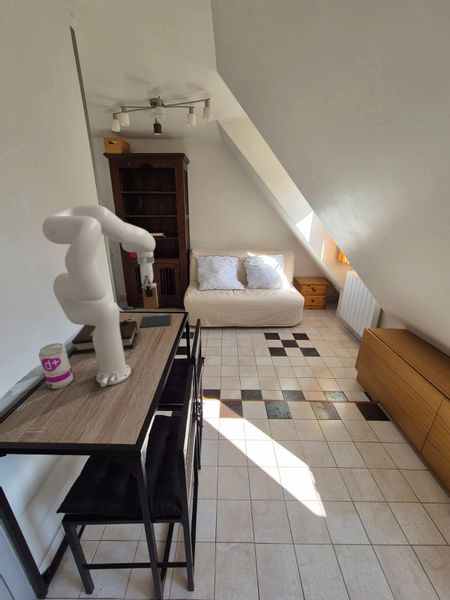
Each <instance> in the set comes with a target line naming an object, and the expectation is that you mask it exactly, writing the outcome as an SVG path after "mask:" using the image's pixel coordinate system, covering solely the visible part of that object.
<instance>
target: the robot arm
mask: <svg viewBox="0 0 450 600" xmlns="http://www.w3.org/2000/svg"><path fill="white" fill-rule="evenodd" d="M42 233H43V236H44V237H45V239H47V240H48V241H49V242H51V243H53V244H56V245H69V247H68V250H67V251H66V253H65V256H64V266H65V269H66V270H67V272H62V273H60V274H58V275H57V276H56V277H55V278H54V281H53V284H52V285H53V286H52V288H53V289H52V290H53V294H54V297H55V298H56V300H57V303H58V304H59V307H61V309H62V311H63V313H64V315H65V316H66V318H67V320H69V322H70V323H72V324H74V325H80V326H84V325H91V326H96V330H95V332H94V334H93V344H94V348H95V352H94V353H95V357H96V361H97V367H98V373H97V374H96V376H95V378H96V382H97V383H98V384H100V387H102V388H105V387H106V386H113V385H116V384H119V383H121V382H123V381H125V380H127V379H128V378H129V377H130V375H131V374H132V369H131V368H132V367H131V366H130V365H128V364H126V359H125V351H124V349H123V345H122V340H121V334H120V327H119V322H120V314H121V313H120V312H121V311H120V307H119V305H118V303H116V302H115V301H113V300H110V299H105V297H106V293H107V288H106V284H105V281H104V279H103V277H102V274H101V271H100V269H99V267H98V263H97V261H96V251H97V248H98V245H99V242H100V239H101V237H102V235H103V236H104V237H106V238H108V239H109V240H111V241H113V242H115V243H119V244H121V247H122V249H123V250H124V251H125V252H127V253H136V257H137V264H138V265H139V266H140V267H139V270H140V271H139V272H140V281H141V285H143V284H145V292H146V297H153V293H152V289H151V283H153V281H154V270H153V269H154V268H153V264H154V263H155V257H154V251H155V248H156V240H155V238H154V237H153V235H152V234H151V233H149V231H147V230H146V229H144V228H141V227H139V226H136V225H133V224H131V223H128V222H125V221H123V220H122V219H121V218H119V217H118V216H117V215H116V214H114V213H113V212H112V211H111V210H110V209H108V208H107V207H105V206H103V205H99V204H83V205H82V204H80V205H73V206H70V207H67V208H66V209H63V210H61V211H58V212H56V213H54V214H51V215H49V216H48V217H47V218H45V220H43V223H42ZM148 284H150V286H149V285H148Z"/></svg>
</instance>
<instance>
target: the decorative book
mask: <svg viewBox="0 0 450 600" xmlns="http://www.w3.org/2000/svg"><path fill="white" fill-rule="evenodd" d="M137 322H138V321H137V320H132V318H128V319H127V320H123V321H119V327H120V334H121V340H122V345H123V350H130V349H131V350H133V349H134V346H135V343H136V340H137V337H138V334H139V333H141V331H142V329H138V328H139V327H138V323H137ZM95 330H96V326H91V325H83V326H82V327H81V329H80V331H78V332H77V334H76V335H75V336H74V337H73V339H72V340H71V343H72V345H74V346H73V348H75V349H74V350H73V352H74V355H80V354H90V353H92V354H93V353H95V348H94V344H93V334H94V332H95Z"/></svg>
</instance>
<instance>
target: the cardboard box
mask: <svg viewBox="0 0 450 600" xmlns="http://www.w3.org/2000/svg"><path fill="white" fill-rule="evenodd" d="M148 285H149V286H150V284H148ZM151 289H152V293H153V297H146V292H145V283H144V284H141V293H142V299H143V308H144V310H154V309H155V310H156V309H159V296H158V288H157V283H156V282H152V283H151Z"/></svg>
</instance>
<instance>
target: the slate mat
mask: <svg viewBox="0 0 450 600" xmlns="http://www.w3.org/2000/svg"><path fill="white" fill-rule="evenodd" d="M167 326H171V314H163V315H152V316H149V315H148V316H143V318H142V321H141V324H140V326H139V327H140V329H141V328H153V327H154V328H155V327H167Z"/></svg>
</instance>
